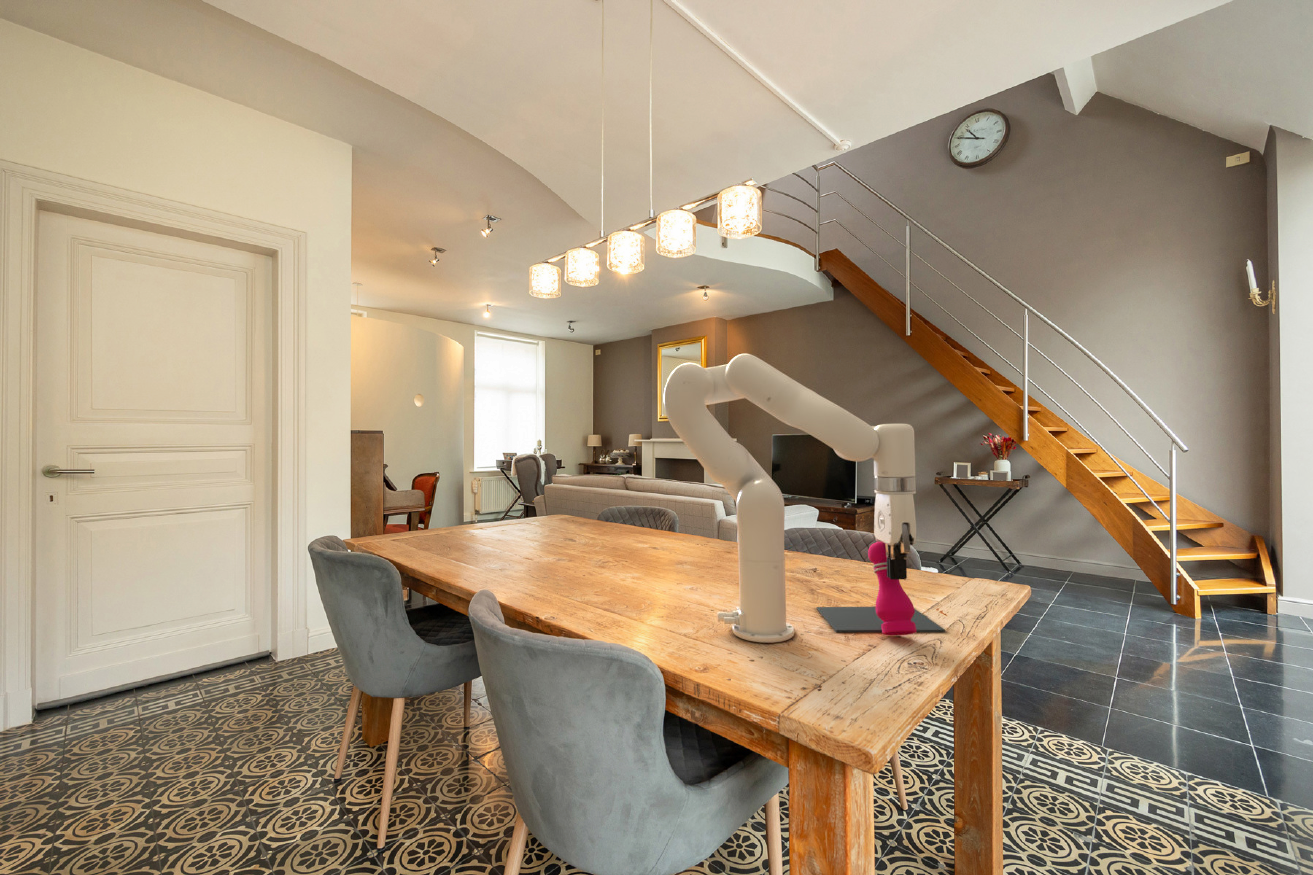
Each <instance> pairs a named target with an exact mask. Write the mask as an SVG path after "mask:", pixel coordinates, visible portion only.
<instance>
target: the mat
mask: <svg viewBox="0 0 1313 875" xmlns="http://www.w3.org/2000/svg"><path fill="white" fill-rule="evenodd" d="M816 610H817V612H818V613H819V614H820V615H821V617H823V619H824V620H825V621H826V622H827V623H828V624H829V626H830V627H831V628H832V629H833V630H834V631H835V633H882V628H881V625H882V624H883V623H884V622H883V621H882V620H881V619H880V618H879V617H878V616H877V614H876V608H875V606H816ZM914 610H915V613H914V615H913V617H912V619H911V621H912V622H914V623H915V626H916V631H917V632H916V633H946V630H945V629H946V628H945V629H944V628H943V627H942V626H941V625H939V624H937V623H936V622H934V621H933V620H932V619H930V618H929V617H927V616H926V615H925V614H923V613H922V612H920V611H919V610H917V609H916V608H914Z"/></svg>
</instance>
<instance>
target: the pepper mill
mask: <svg viewBox="0 0 1313 875" xmlns="http://www.w3.org/2000/svg"><path fill="white" fill-rule="evenodd" d="M867 556H868V560H869V561H870V562H871V563H872V564H873V565H872V568H873V573H874V574H876V577H877V581H878V592H877V596H876V600H875V606H874V607H875V608H876V614H877V616H878V617H879V618H880V619H881V620H882V621H883V622H884V623H883V624H882V625H881V628H882V632H881V633H882V635H883V636H909V635H914V634H916V633H918V632H917V631H916V626H915V623H914V622H912V621H911V619H912V617H913V615H914V613H915V610H914V609H915V607H914V603H913V602H912V600H911V598H910V597H909V595H908V594H907V593H906V592H905V590H904V589H903V587H902V584H901V583H900V579H896V580H892V579H890V578H889V577H887V556H886V546H885V544H884V543H883V542H882V541H880V540H878V539H877V538H876V537H875V542H874V543H872V544H870V546H869V548H868V550H867Z"/></svg>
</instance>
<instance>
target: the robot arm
mask: <svg viewBox="0 0 1313 875" xmlns="http://www.w3.org/2000/svg"><path fill="white" fill-rule="evenodd" d="M742 399H746V400H747V401H749V402H750V403H752V404H753V405H755V406H757V407H758V408H760V409H762V410H763V411H764V412H766V413H768V414H769V415H771V416H772V417H774V418H776V419H777V420H779V421H780V422H781V423H784V424H785V425H788V426H790V427H793V428H796V429H799V430H800V431H802V432H805V433H806V434H808V435H810V436H811V437H813V438H815V439H817V440H818V441H820V442H822V443H824V444H825V445H827V446H828V447H829V448H831V449H833V451H834V453H835V454H836V455H837V456H838V457H839V458H841V459H843V460H845V461H850V462H865V461H867V460H869V459H872V460H873V482H874V483H873V485H874V486H873V487H874V493H875V499H874V519H873V521H874V522H873V535H874V537H875V539H876V538H877V539H878V540H880V541H882V542H883V543H884V544H885V546H886V556H887V577H889V578H890V579H892V580H896V579H899V580H907V579H908V578H907V577H908V574H907V573H908V571H907V570H908V569H907V560H908V554H910V553H911V546H914V545H915V544H916V542H917V520H916V509H915V500H914V495H915V494H917V487H916V449H915V447H916V446H915V443H916V442H915V430H914V427H913V426H912V425H911V424H909V423H881V424H878V425H870V424H869V423H867V422H865V421H864V420H862V418H859V417H858V416H857V415H854V414H853V413H851V412H850V411H849V410H847V409H845V408H843V407H841V406H839V405H838V404H836V403H835V402H832V401H831V400H829V399H828V398H825V397H824V396H822V395H820V394H818V393H817V392H816V391H814V390H813V389H810V388H808V387H806V386H805V385H803V384H801V383H800V382H799V381H796V380H795V379H794V378H791V377H790V376H788V375H787V374H785V373H783V372H782V371H780V370H778V369H777V368H775V367H774V366H772V365H771V364H769V363H767V362H766V361H764V360H762V359H760V357H758V356H756V355H753V354H750V353H741V354H737V355H736V356H734V357H733V358H732V359H731V360H729V362H728V363H727V364H723V365H717V366H711V367H703V366H702V365H700V364H698V363H695V362H685V363H682V364H680V365H677V367H675V368H674V369H673V370H672V372H671V373H670V374H669V376H668V378H667V381H666V384H665V386H664V391H663V406H664V412H665V415H666V417H667V420H668V422H669V424H670V427H672V429H673V431H674V432H675V434H676V435H677V436H678V438H680V440H681V441H682V442H683V444H684V445H685V446H686V448H687V449H688V450H689V452H690V453H691V454H692V455H693V456H694V457H695V459H696V460H697V461H698V463H699V464H700V465H701V467H702V468H703V469H704V471H705V472H706V473H707V475H708V476H709V477H710V478H711V480H713V481H714V482H715V483H718V484H720V485H721V486H722V487H723V488H724V489H725V490H726V492H727V493H728V494H729V495H730V496H731V497H732V499H733V500H734V501H735V503H736V507H735V508H736V513H735V514H736V529H737V557H738V599H739V606H736V610H731V611H732V612H726V611H717V613H716V614H717V615H716V616H717V617H716V618H717V622H718V623H719V622H720V623H721V622H723V624H724V625H731V626H732V627H731V628H732V633H733V634H734V635H735V636H736V637H738V638H740V639H742V640H744V641H745V640H746V641H749V642H754V643H766V644H767V643H769V644H770V643H772V644H773V643H781V642H784V641H788V640H790V639H792V638H793V637H794V636H795V627H794V625H792V624H791V623H789V622H787V591H786V590H787V589H786V588H787V587H786V556H785V555H786V553H785V552H786V550H785V548H786V547H785V514H786V512H785V511H786V510H785V500H784V496H783V493H782V491H781V489H780V487H779V486H778V484H777V483H776V482H775V481H774V480H773V479H772V477H771V476H770V475H769V474H768V473H767V472H766V471H765V470H764V469H763V467H762V465H761V464H759V462H758V461H757V460H756V459H755V458H754V456H753V455H752V454H751V453H750V452H749V451H748V449H747V448H746V447H744V445H742V444H741V443H739V442H737V441H736V440H734V438H733V437H732V436H730V434H729V433H728V432H727V431H726V430H725V429H724V427H723V426H722V425H721V424H720V422H719V421H718V419H716V417H714V415H713V414H712V413H711V411H709V409H708V407H707V406H708V405H714V404H715V405H716V404H719V403H726V402H732V401H738V400H742Z"/></svg>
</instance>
